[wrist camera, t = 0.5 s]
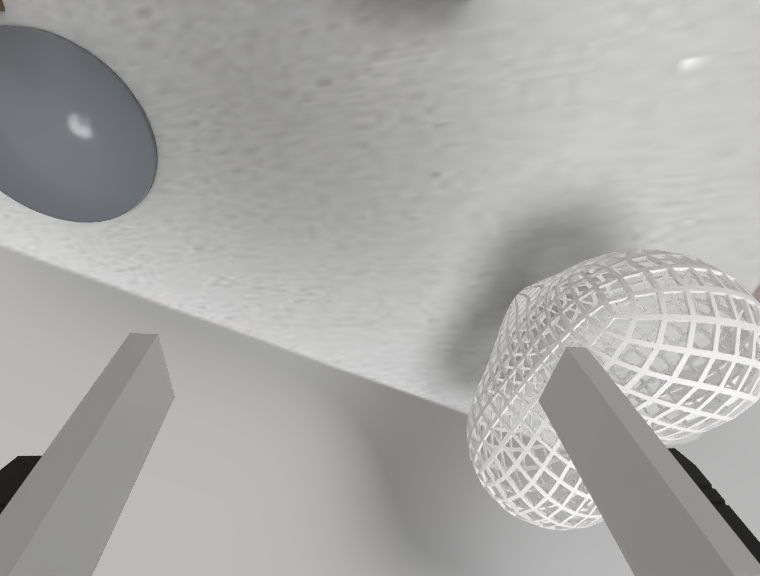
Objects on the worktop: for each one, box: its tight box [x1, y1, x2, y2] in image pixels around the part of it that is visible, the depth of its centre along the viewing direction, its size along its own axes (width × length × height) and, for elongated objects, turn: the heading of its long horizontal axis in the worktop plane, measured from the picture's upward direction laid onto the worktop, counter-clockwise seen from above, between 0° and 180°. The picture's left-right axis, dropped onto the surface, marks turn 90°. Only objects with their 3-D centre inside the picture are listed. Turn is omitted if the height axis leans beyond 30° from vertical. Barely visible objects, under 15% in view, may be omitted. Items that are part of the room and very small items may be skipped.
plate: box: [0, 26, 157, 223], centre depth 31 cm, size 15×15×1 cm
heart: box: [467, 250, 760, 530], centre depth 37 cm, size 28×16×22 cm, turn 159°
